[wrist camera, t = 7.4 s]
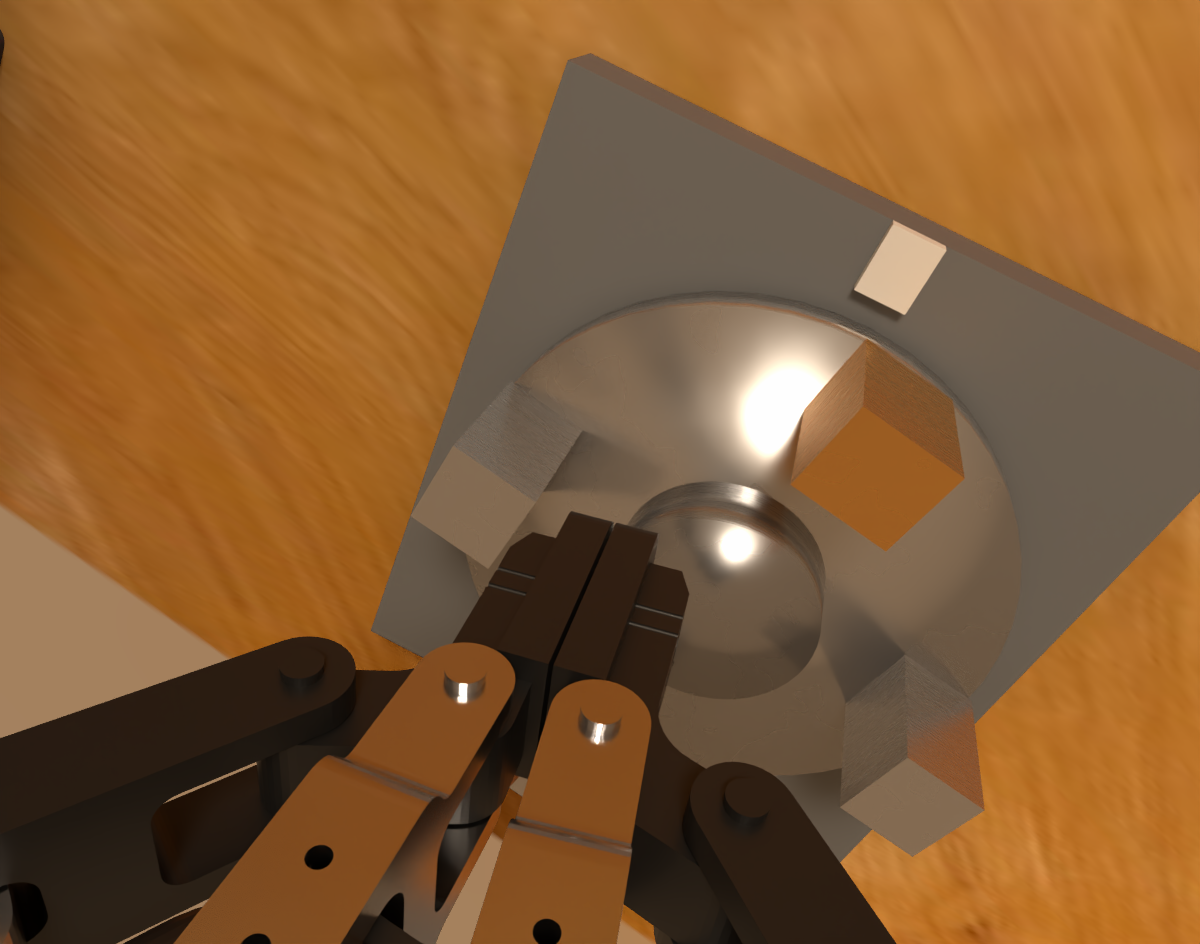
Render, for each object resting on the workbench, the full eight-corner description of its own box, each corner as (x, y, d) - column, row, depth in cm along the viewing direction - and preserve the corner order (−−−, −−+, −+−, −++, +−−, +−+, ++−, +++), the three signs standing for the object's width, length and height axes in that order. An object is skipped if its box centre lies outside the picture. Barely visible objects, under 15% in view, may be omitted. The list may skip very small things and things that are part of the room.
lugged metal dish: (411, 332, 27) (318, 405, 22) (1006, 245, 21) (1038, 318, 17) (547, 742, 33) (495, 860, 29) (1023, 756, 28) (1049, 903, 24)
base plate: (395, 598, 35) (365, 637, 33) (590, 53, 24) (563, 61, 22) (835, 825, 35) (832, 878, 33) (1250, 377, 23) (1285, 417, 21)
